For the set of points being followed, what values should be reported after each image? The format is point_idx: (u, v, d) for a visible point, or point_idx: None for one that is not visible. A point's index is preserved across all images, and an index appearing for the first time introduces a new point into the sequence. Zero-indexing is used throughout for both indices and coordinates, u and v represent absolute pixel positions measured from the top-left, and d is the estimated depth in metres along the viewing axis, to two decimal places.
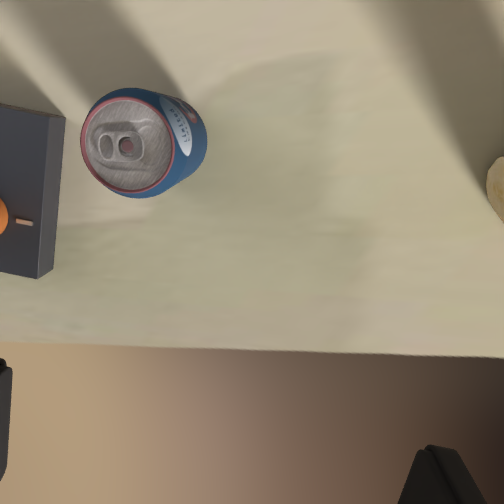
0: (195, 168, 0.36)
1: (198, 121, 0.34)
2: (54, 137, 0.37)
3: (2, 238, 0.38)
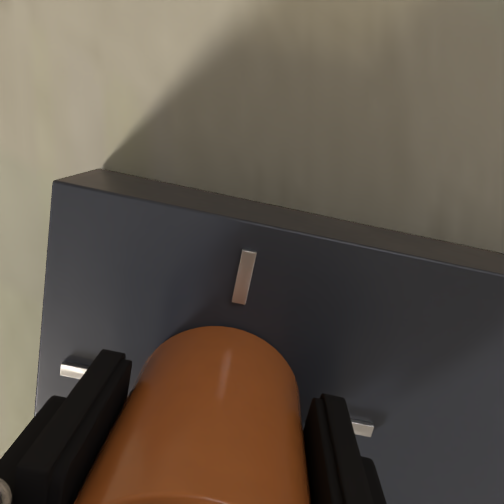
0: None
1: None
2: None
3: None
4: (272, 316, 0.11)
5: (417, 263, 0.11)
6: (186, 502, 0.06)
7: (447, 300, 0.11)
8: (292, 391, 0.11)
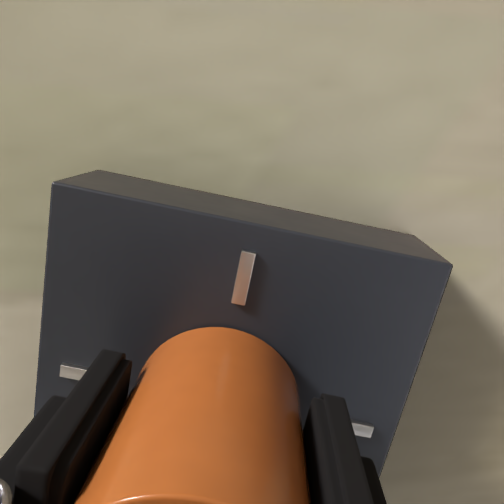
0: None
1: None
2: None
3: (166, 325, 0.12)
4: None
5: None
6: (185, 503, 0.06)
7: None
8: (292, 392, 0.11)
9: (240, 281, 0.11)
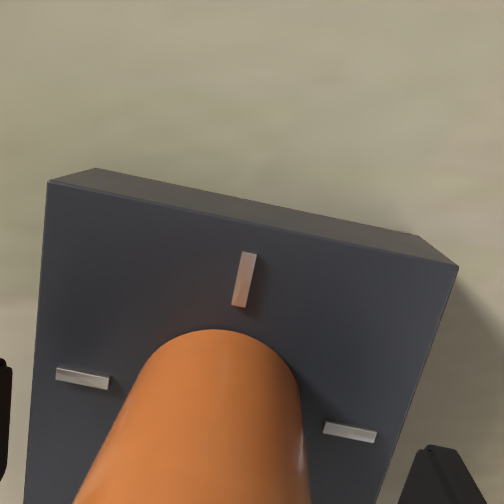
0: None
1: None
2: None
3: (164, 327, 0.11)
4: (306, 450, 0.12)
5: None
6: None
7: None
8: (294, 398, 0.10)
9: (240, 282, 0.11)
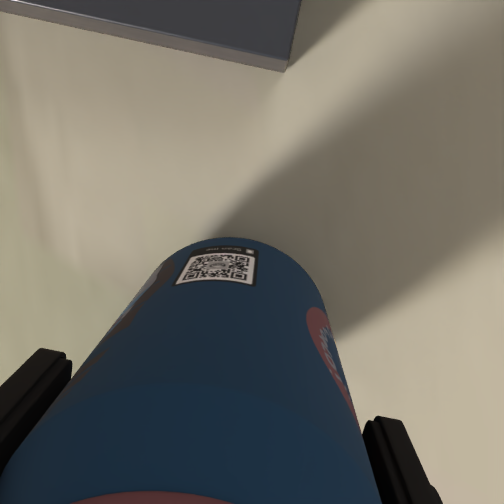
0: None
1: None
2: (232, 54, 0.13)
3: None
4: None
5: None
6: None
7: None
8: None
9: None
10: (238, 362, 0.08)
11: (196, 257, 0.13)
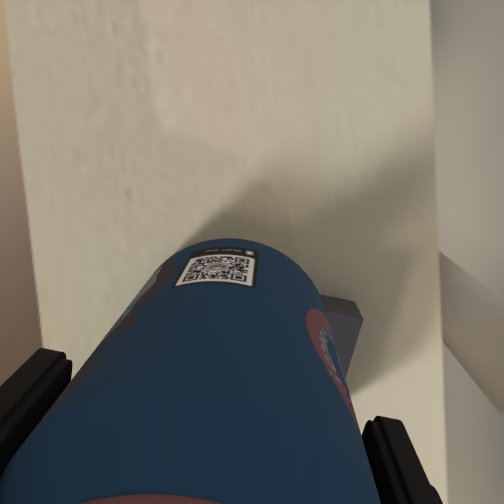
0: None
1: None
2: None
3: None
4: None
5: None
6: None
7: None
8: None
9: None
10: (238, 364, 0.08)
11: (196, 258, 0.13)
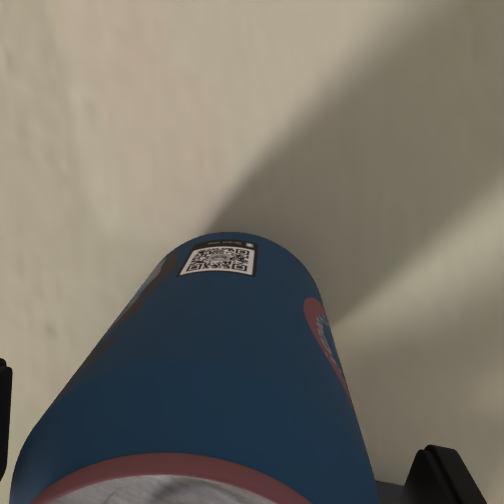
0: None
1: None
2: None
3: None
4: None
5: None
6: None
7: None
8: None
9: None
10: (241, 342, 0.08)
11: (198, 250, 0.14)
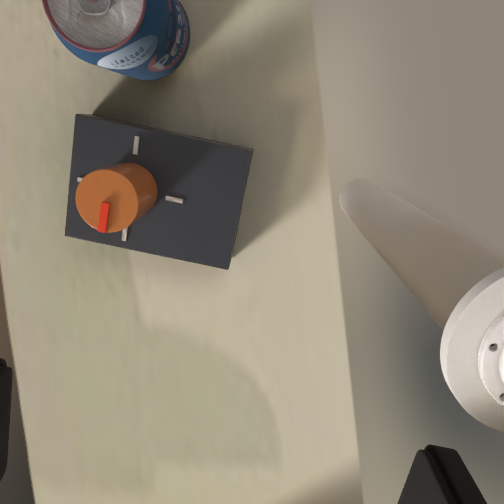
0: None
1: (159, 72, 0.33)
2: None
3: None
4: (146, 159, 0.35)
5: (190, 140, 0.35)
6: (76, 198, 0.31)
7: (201, 153, 0.35)
8: None
9: None
10: None
11: None
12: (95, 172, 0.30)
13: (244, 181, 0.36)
